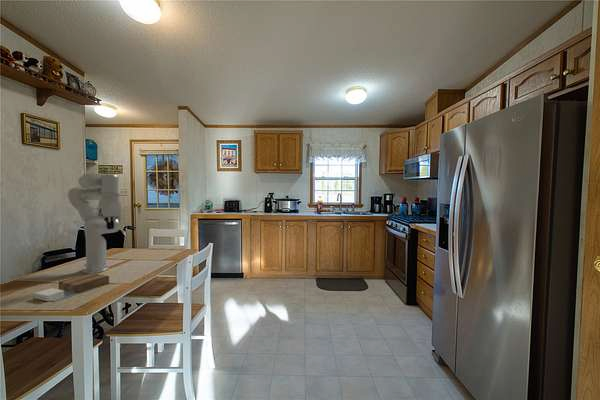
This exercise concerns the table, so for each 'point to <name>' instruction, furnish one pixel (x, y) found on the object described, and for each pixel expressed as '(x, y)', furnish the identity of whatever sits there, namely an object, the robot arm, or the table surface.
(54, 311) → the table surface
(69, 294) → the mat
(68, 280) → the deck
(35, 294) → the white rectangular block
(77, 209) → the robot arm
